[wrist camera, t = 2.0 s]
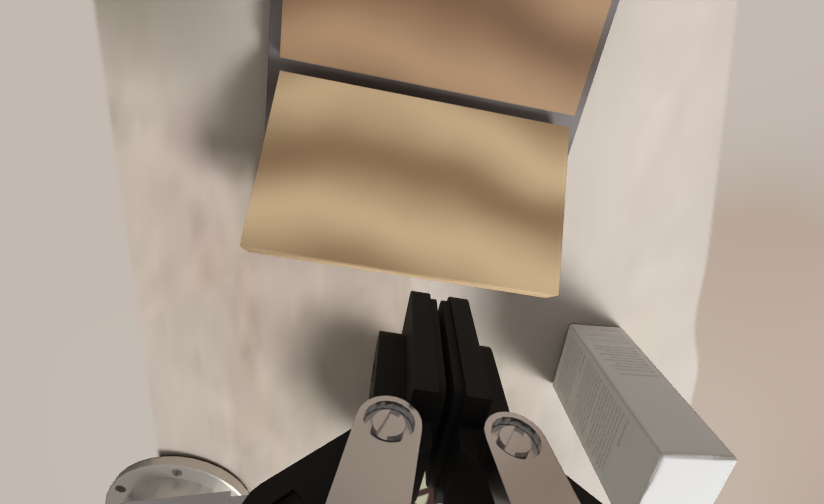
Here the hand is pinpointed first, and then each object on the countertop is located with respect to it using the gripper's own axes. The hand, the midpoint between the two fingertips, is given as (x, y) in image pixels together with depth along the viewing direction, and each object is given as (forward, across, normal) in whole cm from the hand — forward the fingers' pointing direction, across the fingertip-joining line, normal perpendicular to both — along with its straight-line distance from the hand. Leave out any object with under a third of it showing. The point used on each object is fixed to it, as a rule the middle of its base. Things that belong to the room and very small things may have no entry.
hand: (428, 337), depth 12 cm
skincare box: (+16, -16, +11) cm, 25 cm away
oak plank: (+12, 0, -1) cm, 12 cm away
